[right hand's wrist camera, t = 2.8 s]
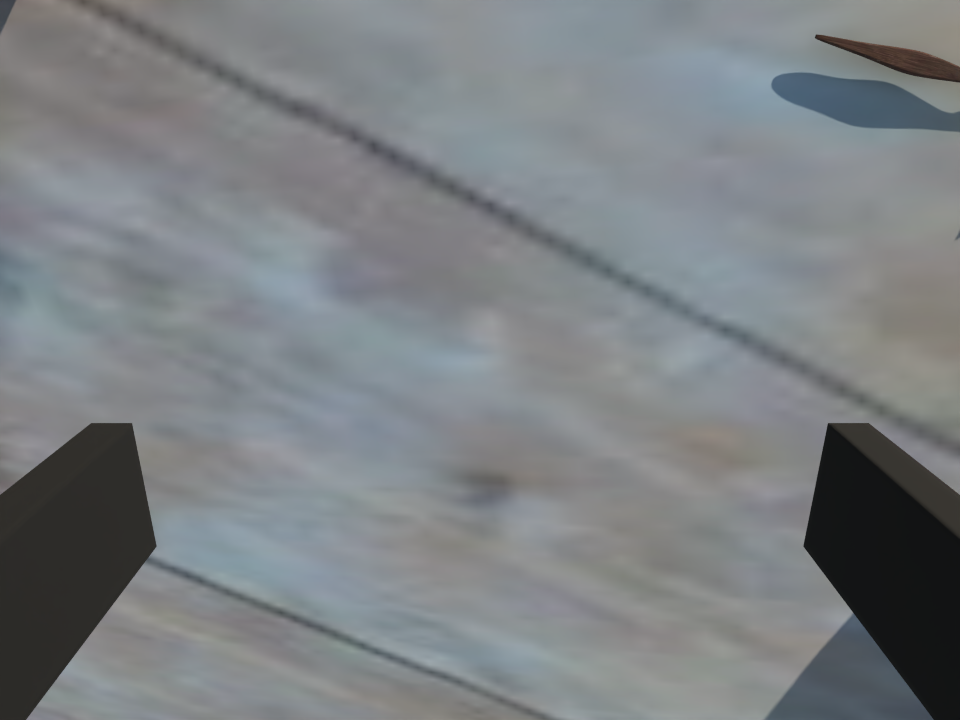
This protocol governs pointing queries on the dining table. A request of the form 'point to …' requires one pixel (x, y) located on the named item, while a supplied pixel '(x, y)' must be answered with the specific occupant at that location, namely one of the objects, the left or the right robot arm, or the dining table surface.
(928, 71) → the fork
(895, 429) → the dining table surface
